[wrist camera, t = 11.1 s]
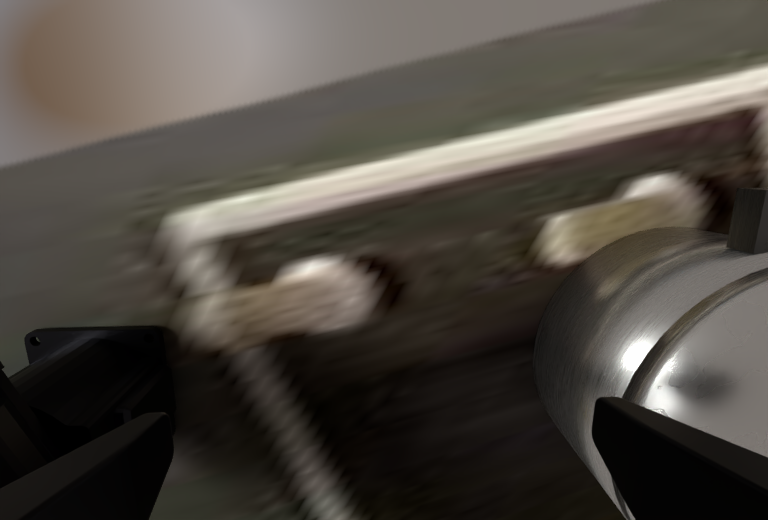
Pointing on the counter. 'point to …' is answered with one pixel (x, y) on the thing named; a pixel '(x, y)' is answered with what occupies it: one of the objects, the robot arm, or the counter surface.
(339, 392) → the counter surface
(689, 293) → the cooker pot
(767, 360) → the cooker lid
